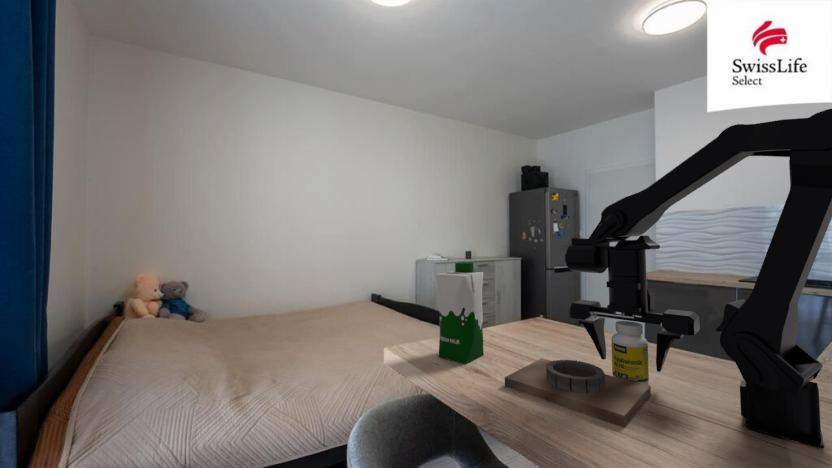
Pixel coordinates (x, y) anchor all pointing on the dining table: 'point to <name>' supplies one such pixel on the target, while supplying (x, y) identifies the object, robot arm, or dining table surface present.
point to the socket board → (585, 403)
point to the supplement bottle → (630, 353)
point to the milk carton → (460, 313)
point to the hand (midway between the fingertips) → (630, 364)
